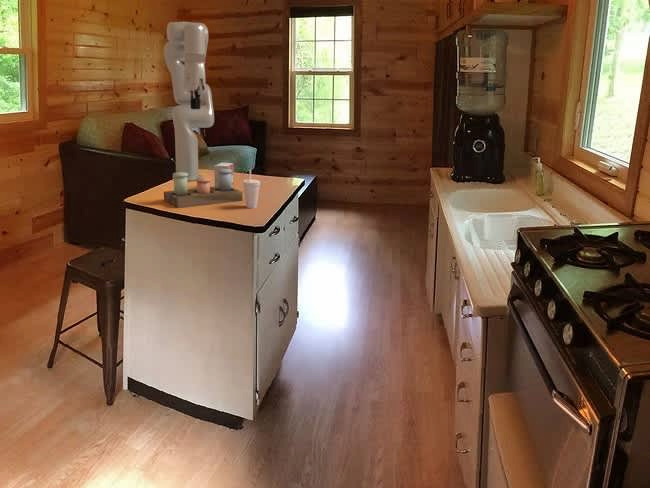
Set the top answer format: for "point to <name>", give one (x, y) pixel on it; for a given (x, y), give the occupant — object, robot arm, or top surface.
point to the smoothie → (251, 192)
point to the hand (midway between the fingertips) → (195, 108)
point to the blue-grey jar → (224, 179)
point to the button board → (202, 197)
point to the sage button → (180, 184)
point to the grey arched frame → (224, 166)
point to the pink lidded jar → (203, 185)
